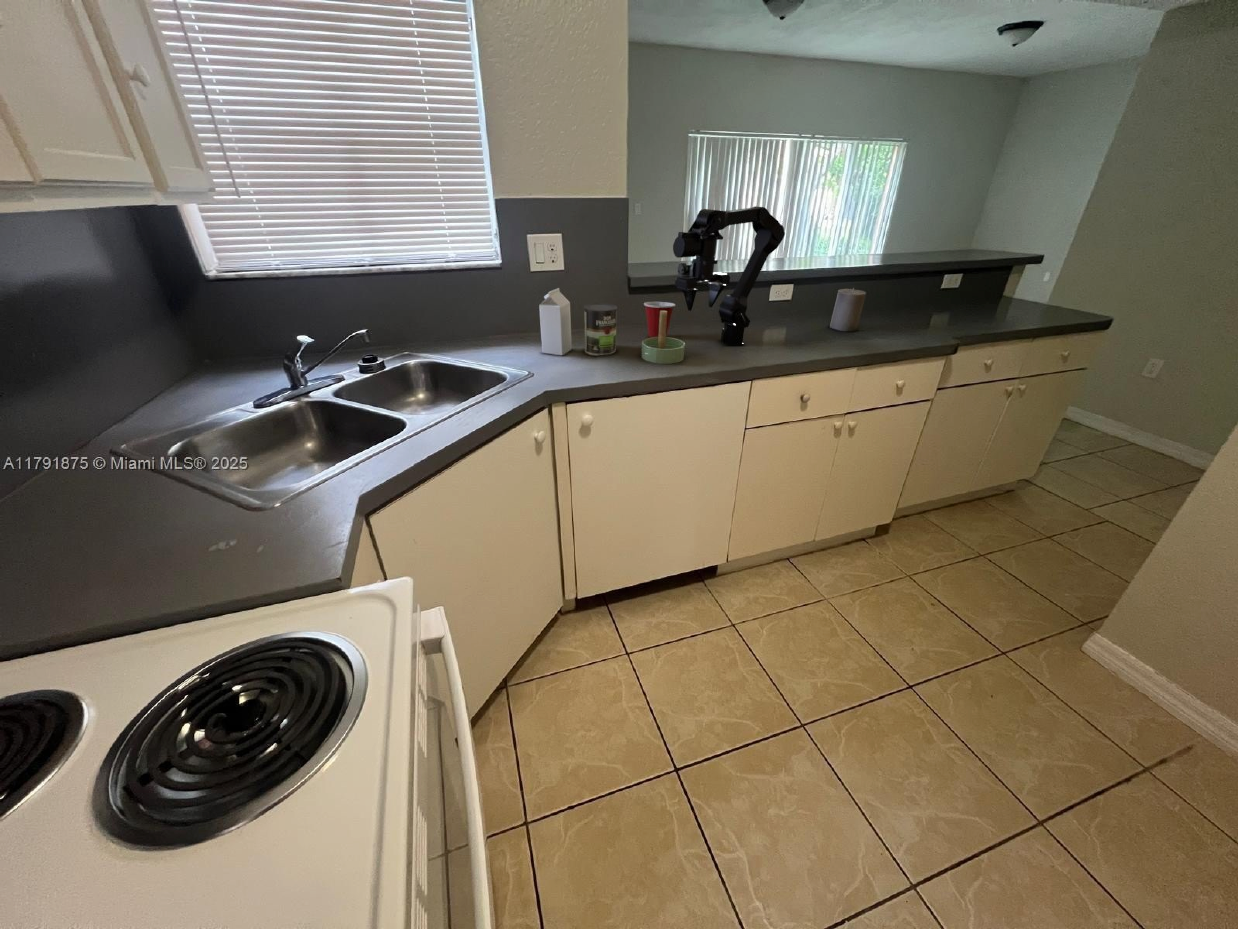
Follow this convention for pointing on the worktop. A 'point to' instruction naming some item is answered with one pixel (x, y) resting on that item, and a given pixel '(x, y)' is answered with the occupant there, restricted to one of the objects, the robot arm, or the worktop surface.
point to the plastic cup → (657, 316)
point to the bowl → (663, 350)
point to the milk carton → (555, 323)
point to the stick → (662, 329)
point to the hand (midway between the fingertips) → (700, 308)
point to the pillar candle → (847, 309)
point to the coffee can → (600, 328)
